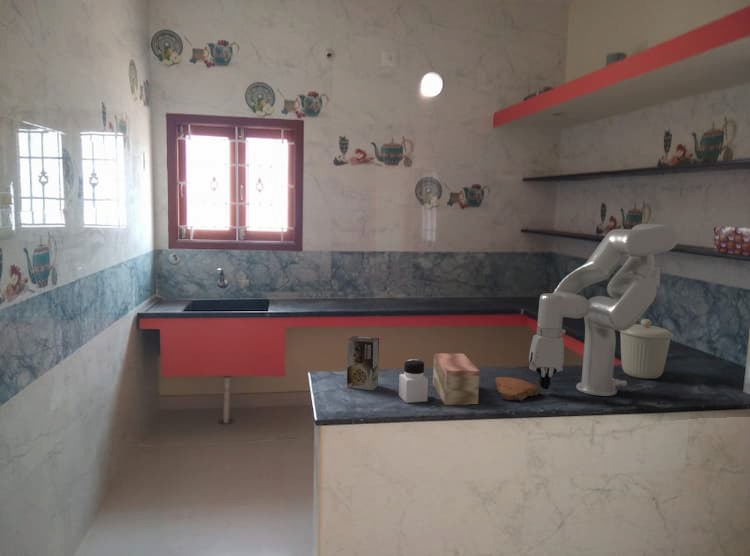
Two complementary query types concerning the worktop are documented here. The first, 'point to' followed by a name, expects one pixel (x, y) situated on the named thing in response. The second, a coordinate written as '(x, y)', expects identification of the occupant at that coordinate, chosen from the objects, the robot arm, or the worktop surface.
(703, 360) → the worktop surface
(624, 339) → the canister
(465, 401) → the overhang bay
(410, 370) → the medicine bottle
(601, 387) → the robot arm
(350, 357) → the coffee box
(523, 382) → the ceramic shard
